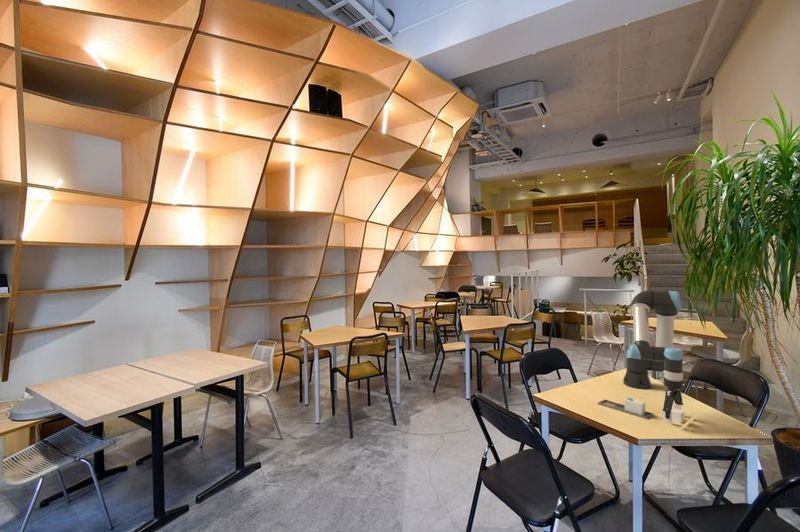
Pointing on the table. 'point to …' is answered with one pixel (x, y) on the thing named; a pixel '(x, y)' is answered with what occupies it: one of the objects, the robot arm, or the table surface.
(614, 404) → the rail
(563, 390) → the table surface
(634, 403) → the module seated
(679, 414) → the block
